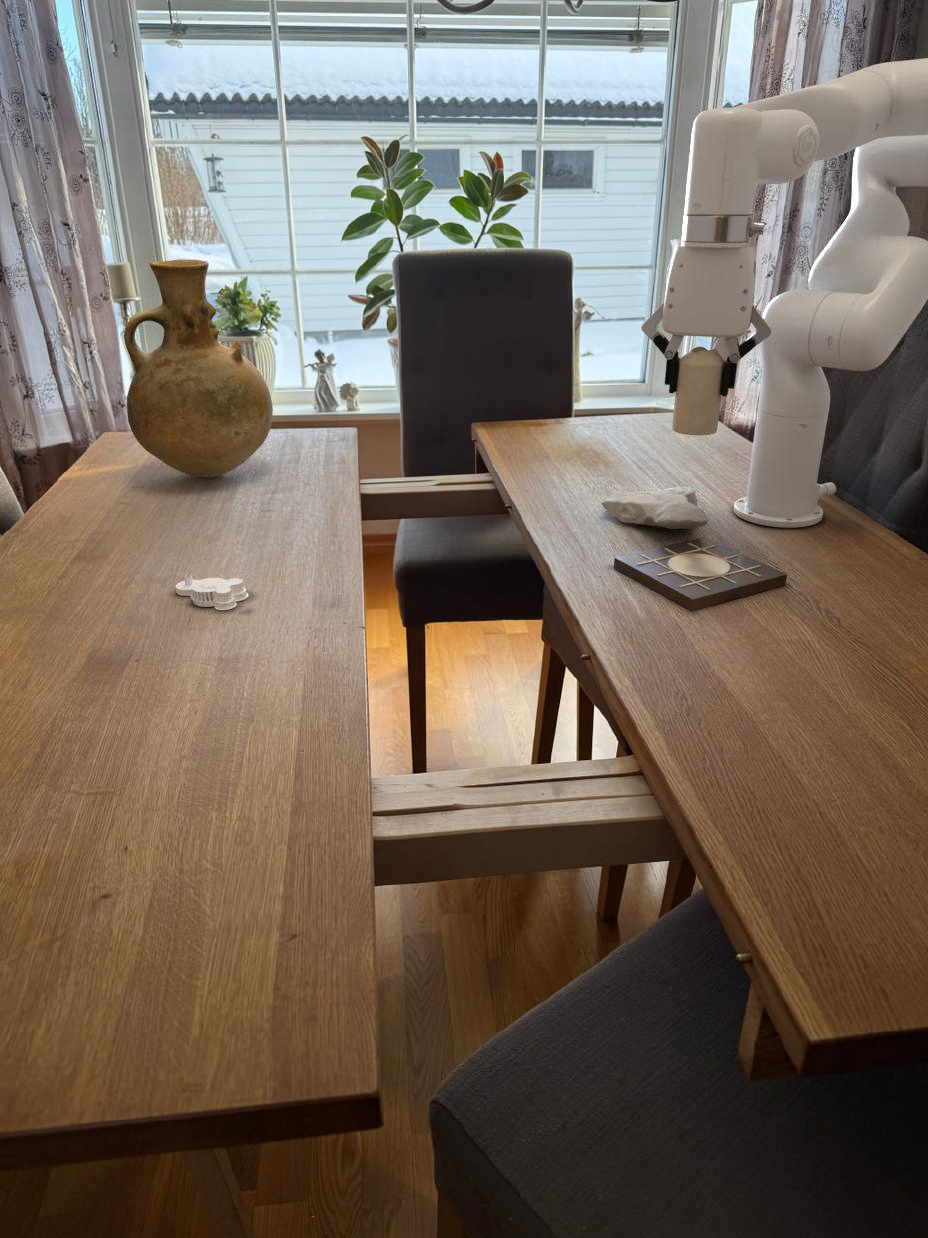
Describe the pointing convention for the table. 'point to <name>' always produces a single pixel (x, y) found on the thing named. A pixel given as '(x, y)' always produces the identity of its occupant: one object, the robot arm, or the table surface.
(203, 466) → the vase
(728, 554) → the board
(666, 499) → the rock
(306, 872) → the table surface
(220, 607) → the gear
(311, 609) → the table surface
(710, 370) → the candle
